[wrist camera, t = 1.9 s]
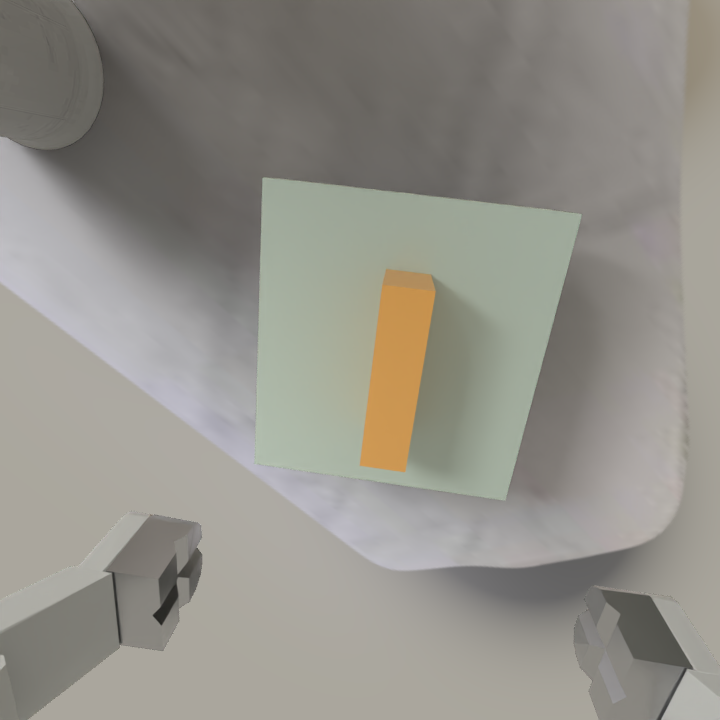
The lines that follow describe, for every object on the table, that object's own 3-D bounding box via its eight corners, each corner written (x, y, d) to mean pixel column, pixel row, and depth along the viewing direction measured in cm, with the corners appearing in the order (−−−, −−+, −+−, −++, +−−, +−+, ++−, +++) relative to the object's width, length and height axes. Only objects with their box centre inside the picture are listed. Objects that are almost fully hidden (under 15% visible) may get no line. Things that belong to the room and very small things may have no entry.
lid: (280, 178, 22) (233, 175, 16) (560, 210, 22) (618, 220, 16) (269, 435, 28) (231, 505, 22) (495, 468, 27) (520, 550, 21)
